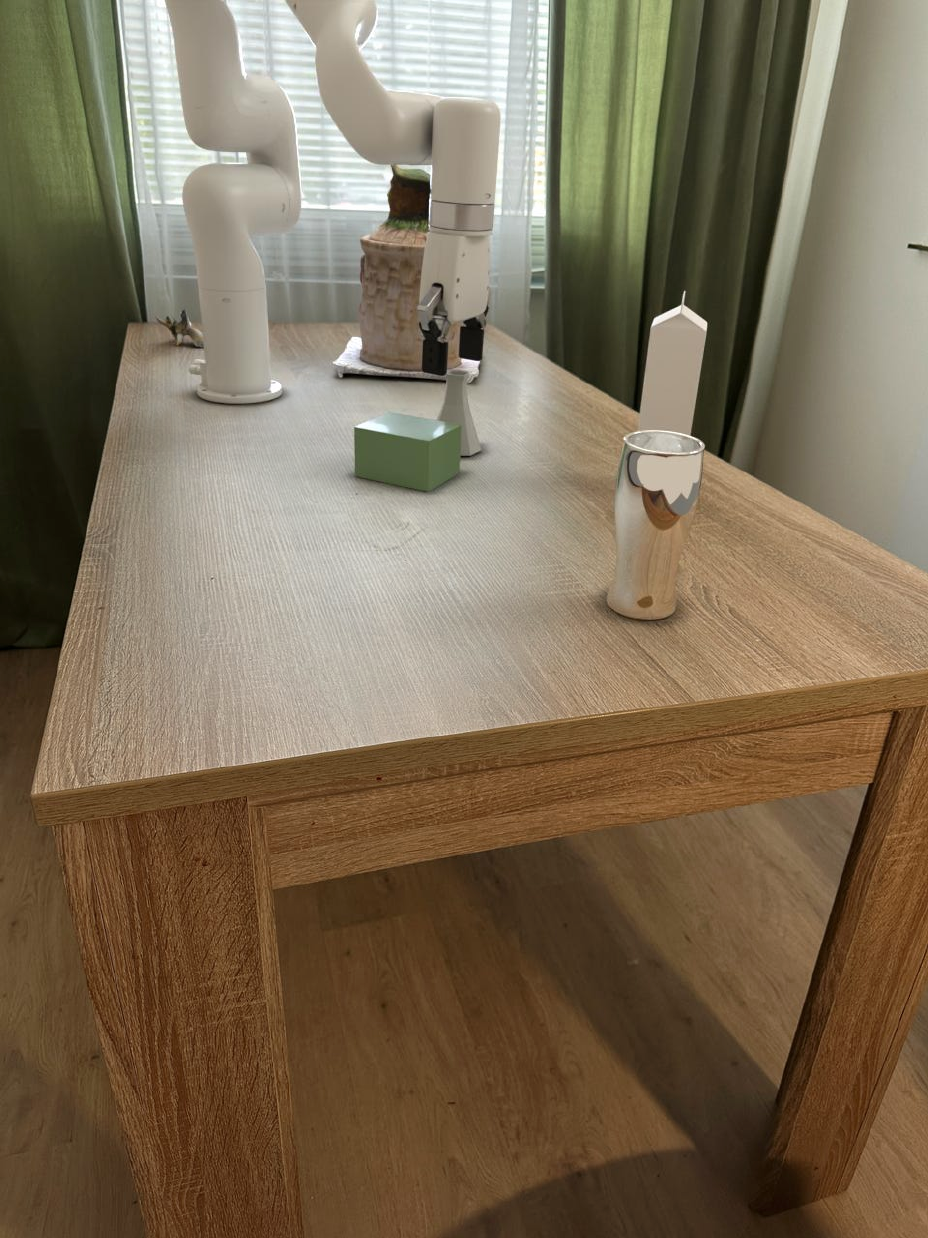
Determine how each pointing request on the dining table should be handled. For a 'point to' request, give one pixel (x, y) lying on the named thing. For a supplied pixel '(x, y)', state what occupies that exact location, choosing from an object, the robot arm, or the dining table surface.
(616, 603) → the beer glass
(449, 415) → the flask
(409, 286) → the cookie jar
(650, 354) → the milk
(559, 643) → the dining table surface
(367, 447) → the green block
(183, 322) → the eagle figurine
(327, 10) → the robot arm
